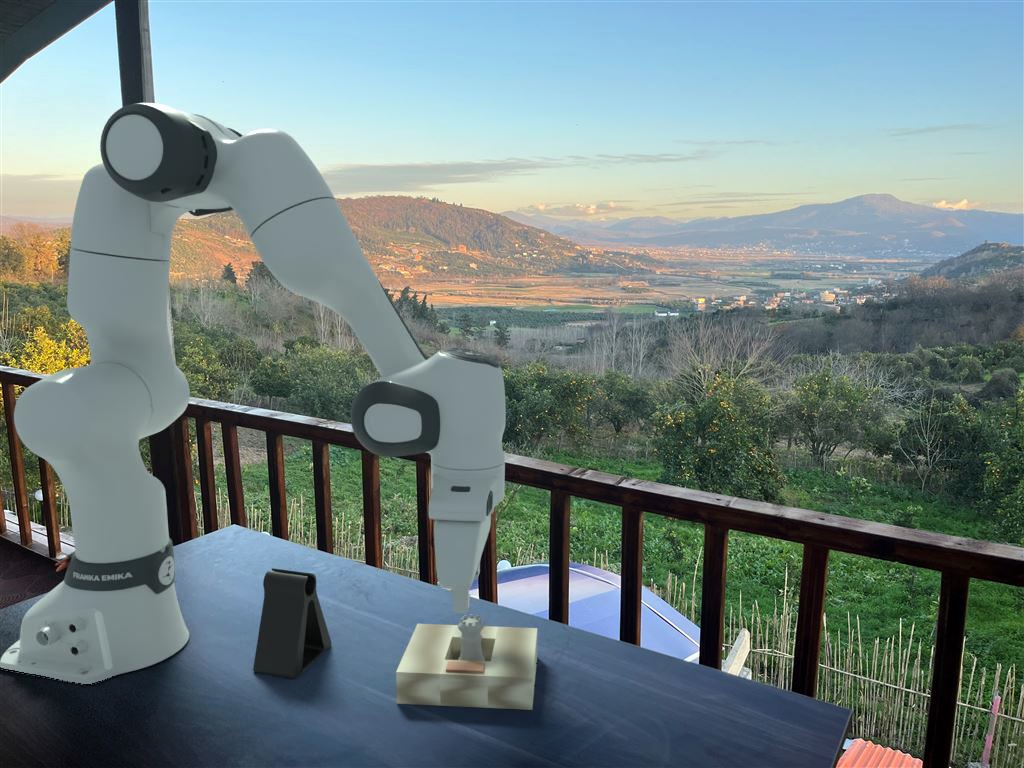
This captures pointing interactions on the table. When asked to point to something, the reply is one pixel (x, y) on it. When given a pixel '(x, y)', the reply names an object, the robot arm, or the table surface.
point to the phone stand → (290, 625)
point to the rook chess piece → (471, 638)
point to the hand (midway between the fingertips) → (466, 593)
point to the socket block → (468, 668)
